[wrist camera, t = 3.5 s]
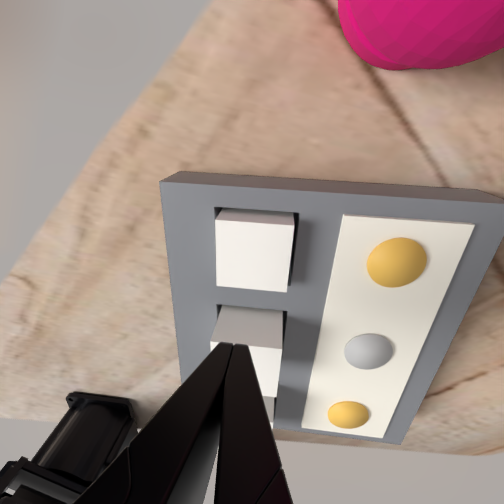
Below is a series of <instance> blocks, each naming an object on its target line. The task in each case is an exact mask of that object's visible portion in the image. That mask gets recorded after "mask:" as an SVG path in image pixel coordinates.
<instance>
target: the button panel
mask: <svg viewBox="0 0 504 504" xmlns="http://www.w3.org/2000/svg"><path fill="white" fill-rule="evenodd" d="M159 184H160V193H161V202H162V211H163V220H164V229H165V238H166V247H167V256H168V265H169V274H170V283H171V292H172V301H173V310H174V319H175V328H176V337H177V346H178V355H179V364H180V373H181V382H182V384H183V382H184V381H185V380H186V379H187V378H188V377H189V376H190V375H191V373H192V372H193V371H194V370H195V369H196V368H197V367H198V366H199V365H200V363H201V362H202V361H203V360H204V359H205V358H206V357H207V356H208V354H209V353H210V352H211V346H210V341H211V338H212V335H213V332H214V329H215V326H216V323H217V320H218V317H219V314H220V311H221V308H222V305H232V306H242V307H252V308H262V309H272V310H282V311H283V322H282V356H281V364H280V372H279V381H278V389H277V397H274V417H273V428H277V429H284V430H292V431H299V432H307V433H315V434H322V435H330V436H337V437H345V438H352V439H360V440H368V441H375V442H383V443H390V444H398V445H401V443H402V441H403V439H404V437H405V435H406V433H407V431H408V429H409V427H410V425H411V423H412V421H413V419H414V417H415V415H416V413H417V411H418V409H419V407H420V405H421V403H422V401H423V399H424V396H425V394H426V392H427V390H428V388H429V386H430V384H431V382H432V380H433V378H434V376H435V374H436V372H437V370H438V368H439V366H440V364H441V362H442V360H443V358H444V356H445V354H446V352H447V350H448V348H449V346H450V344H451V342H452V340H453V338H454V336H455V334H456V332H457V330H458V328H459V326H460V324H461V322H462V320H463V318H464V315H465V313H466V311H467V309H468V307H469V305H470V303H471V301H472V299H473V297H474V295H475V293H476V291H477V289H478V287H479V285H480V283H481V281H482V279H483V277H484V275H485V273H486V271H487V269H488V267H489V265H490V263H491V261H492V259H493V257H494V255H495V253H496V251H497V249H498V247H499V245H500V243H501V241H502V239H503V237H504V199H501V198H499V197H496V196H493V195H490V194H488V193H485V192H482V191H480V190H475V189H459V188H443V187H426V186H410V185H394V184H378V183H362V182H345V181H329V180H313V179H297V178H280V177H264V176H248V175H232V174H216V173H199V172H183V171H179V172H177V173H175V174H173V175H171V176H169V177H167V178H165V179H163V180H161V181H159ZM223 207H227V208H241V209H255V210H269V211H283V212H293V217H294V233H293V242H292V250H291V259H290V267H289V276H288V284H287V292H276V291H266V290H255V289H244V288H234V287H223V286H217V284H216V238H215V219H216V218H217V216H218V215H219V213H220V212H221V210H222V209H223Z"/></svg>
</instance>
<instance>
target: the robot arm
mask: <svg viewBox="0 0 504 504" xmlns="http://www.w3.org/2000/svg"><path fill="white" fill-rule="evenodd" d="M66 401H67V403H68V406H69V408H70V409H69V410H68V411H67V413H66V414H65V415H64V417H63V418H62V419H61V421H60V422H59V424H58V425H57V426H56V428H55V429H54V430H53V432H52V433H51V434H50V436H49V437H48V438H47V440H46V441H45V443H44V444H43V445H42V447H41V448H40V449H39V451H38V452H37V453H36V455H35V456H34V457H33V459H32V460H31V461H28V458H25V457H23V456H22V457H21V458H20V459H19V460H18V461H8V462H7V463H6V465H5V466H4V467H3V468H2V470H1V471H0V504H203V501H204V498H205V494H206V490H207V487H208V483H209V479H210V475H211V472H212V468H213V465H214V461H215V457H216V454H217V450H218V461H217V473H216V484H215V496H214V504H293V501H292V498H291V495H290V491H289V488H288V484H287V481H286V478H285V474H284V470H283V469H282V464H281V460H280V457H279V453H278V449H277V446H276V442H275V439H274V435H273V432H272V428H271V424H270V421H269V417H268V414H267V410H266V407H265V403H264V399H263V396H262V392H261V389H260V385H259V382H258V378H257V375H256V371H255V367H254V364H253V360H252V357H251V353H250V350H249V346H248V345H246V344H238V343H236V344H233V343H229V342H219V343H218V344H217V345H216V347H215V348H214V349H213V350H212V351H211V352H210V353H209V354H208V356H207V357H206V358H205V359H204V360H203V361H202V362H201V363H200V365H199V366H198V367H197V368H196V369H195V370H194V371H193V372H192V373H191V375H190V376H189V377H188V378H187V379H186V380H185V381H184V382H183V384H182V385H181V386H180V387H179V388H178V389H177V390H176V391H175V392H174V394H173V395H172V396H171V397H170V398H169V399H168V400H167V401H166V403H165V404H164V405H163V406H162V407H161V408H160V409H159V410H158V411H157V413H156V414H155V415H154V416H153V417H152V418H151V419H150V420H149V422H148V423H147V424H146V425H145V426H144V427H143V428H142V429H141V431H140V432H139V433H138V431H137V427H136V423H135V419H134V415H133V411H132V407H131V403H130V402H129V401H128V400H124V399H116V398H108V397H101V396H93V395H85V394H78V393H69V394H68V396H67V397H66ZM218 446H219V448H218ZM8 488H10V489H13V490H15V491H16V492H15V493H14V495H10V494H8V493H6V490H7V489H8Z"/></svg>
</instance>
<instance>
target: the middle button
mask: <svg viewBox="0 0 504 504" xmlns="http://www.w3.org/2000/svg"><path fill="white" fill-rule="evenodd" d="M282 322H283V311H282V310H272V309H262V308H252V307H242V306H232V305H222V308H221V311H220V314H219V317H218V320H217V323H216V326H215V329H214V332H213V335H212V338H211V341H210V346H211V351H212V350H213V349H214V348H215V347H216V345H217V344H218V343H219V342H229V343H233V344H236V343H238V344H246V345H248V346H249V350H250V353H251V357H252V360H253V364H254V367H255V371H256V375H257V378H258V382H259V385H260V389H261V392H262V396H269V397H277V389H278V381H279V372H280V364H281V356H282Z"/></svg>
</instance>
